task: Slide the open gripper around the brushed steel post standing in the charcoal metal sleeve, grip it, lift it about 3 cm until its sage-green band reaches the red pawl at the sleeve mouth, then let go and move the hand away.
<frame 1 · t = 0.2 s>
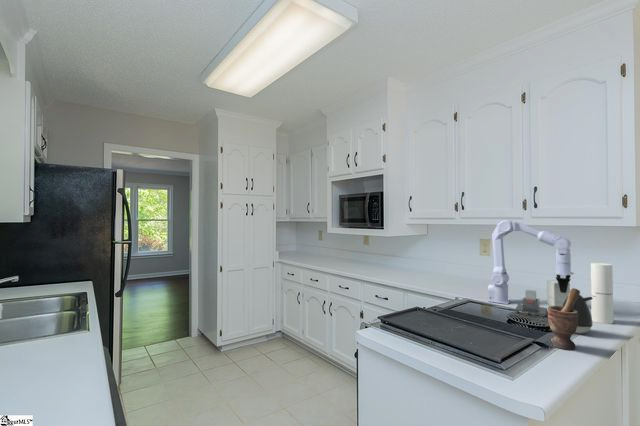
hand: (563, 291, 157), 10 cm above the worktop, tool pointing down, fingers open, 7 cm apart
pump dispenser: (576, 332, 130), on the worktop
mortar and pestle: (564, 345, 117), on the worktop
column: (531, 299, 157), point 6 cm above the worktop, slide at 0.0 cm
supplement box: (558, 306, 167), on the worktop
stand: (531, 311, 157), on the worktop
cylindrical container: (602, 321, 143), on the worktop
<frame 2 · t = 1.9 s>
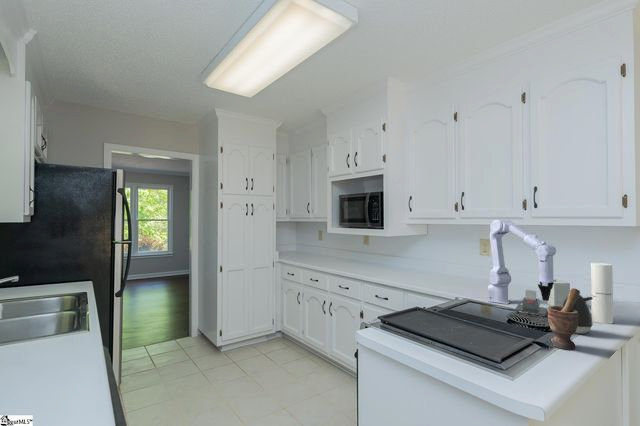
hand: (546, 298, 154), 7 cm above the worktop, tool pointing down, fingers open, 7 cm apart
nothing on the worktop moved.
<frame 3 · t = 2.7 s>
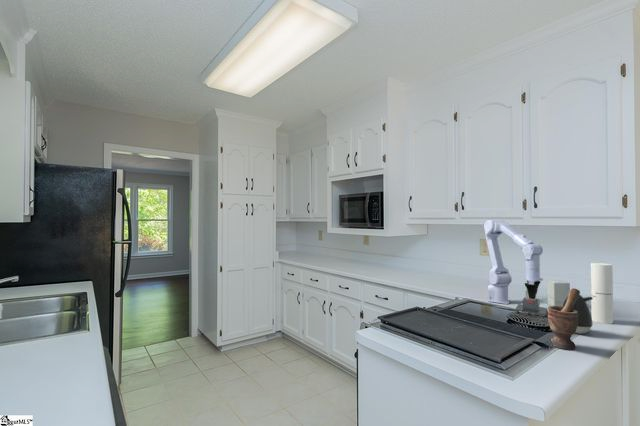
hand: (532, 297, 157), 7 cm above the worktop, tool pointing down, fingers open, 7 cm apart
nothing on the worktop moved.
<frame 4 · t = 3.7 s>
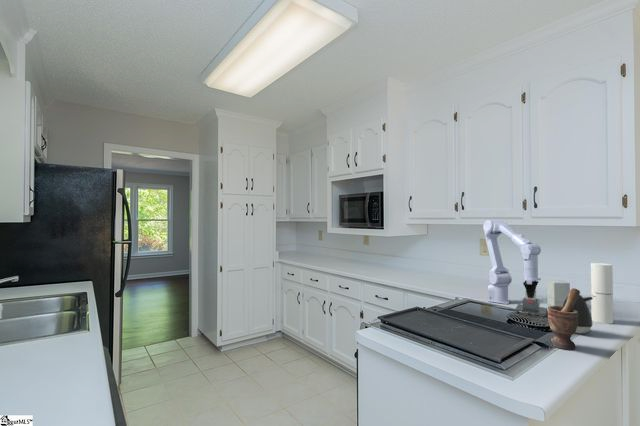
hand: (531, 296, 157), 7 cm above the worktop, tool pointing down, fingers closed on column, 4 cm apart
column: (531, 299, 157), point 6 cm above the worktop, slide at 0.0 cm, touching gripper
everything else where it was.
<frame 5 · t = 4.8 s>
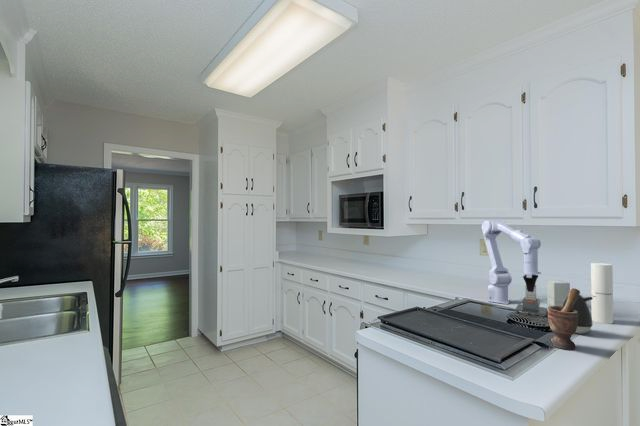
hand: (530, 290, 157), 10 cm above the worktop, tool pointing down, fingers closed on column, 4 cm apart
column: (531, 294, 157), point 9 cm above the worktop, slide at 2.8 cm, touching gripper
everything else where it was.
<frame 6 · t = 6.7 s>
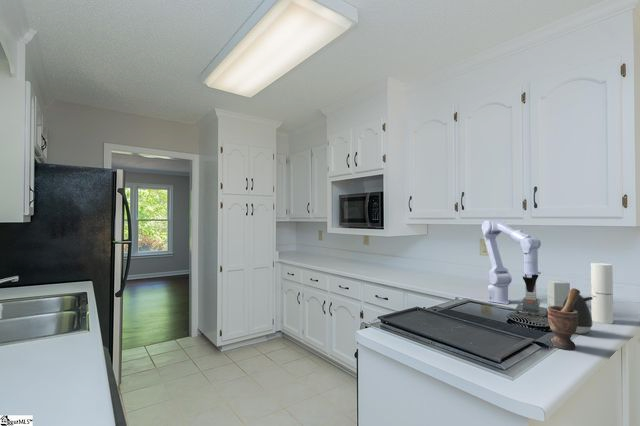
hand: (530, 290, 157), 10 cm above the worktop, tool pointing down, fingers open, 7 cm apart
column: (531, 293, 157), point 9 cm above the worktop, slide at 2.8 cm
everything else where it was.
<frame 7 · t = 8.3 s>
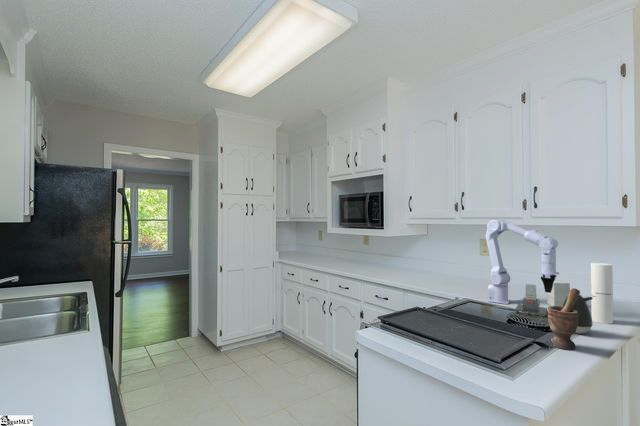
hand: (548, 290, 157), 10 cm above the worktop, tool pointing down, fingers open, 7 cm apart
nothing on the worktop moved.
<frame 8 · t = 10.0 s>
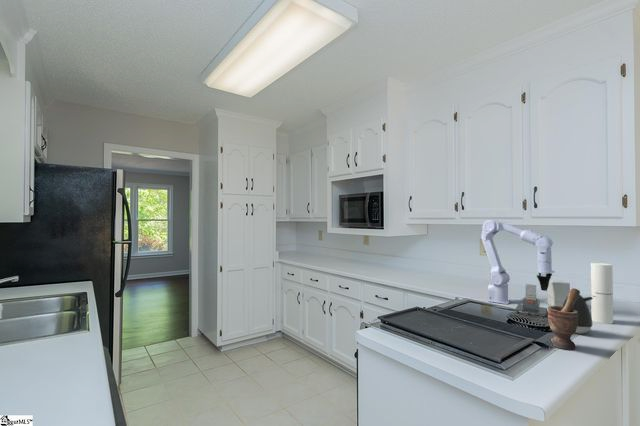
hand: (544, 289, 161), 10 cm above the worktop, tool pointing down, fingers open, 7 cm apart
nothing on the worktop moved.
at the end: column slide at 2.8 cm; the gripper is holding nothing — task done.
